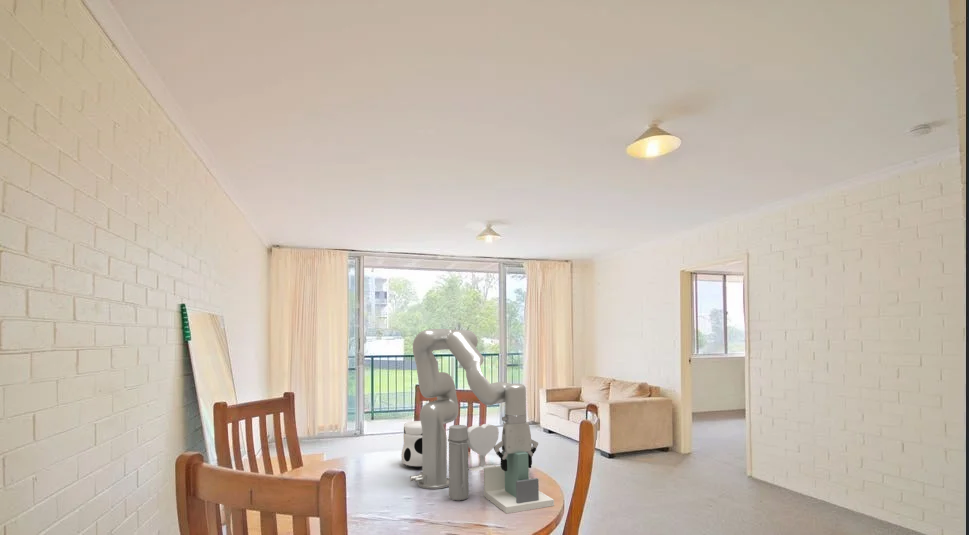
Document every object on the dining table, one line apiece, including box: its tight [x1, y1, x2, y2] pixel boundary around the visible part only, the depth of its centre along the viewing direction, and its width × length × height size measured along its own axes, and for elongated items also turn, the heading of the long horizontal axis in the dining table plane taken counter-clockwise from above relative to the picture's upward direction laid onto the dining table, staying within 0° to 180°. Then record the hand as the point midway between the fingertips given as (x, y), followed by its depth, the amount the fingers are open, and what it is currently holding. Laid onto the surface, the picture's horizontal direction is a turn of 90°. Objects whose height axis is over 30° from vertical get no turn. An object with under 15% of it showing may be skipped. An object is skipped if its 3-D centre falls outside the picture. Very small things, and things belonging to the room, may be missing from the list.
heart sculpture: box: [467, 423, 500, 472], centre depth 230 cm, size 16×5×18 cm, turn 125°
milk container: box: [400, 420, 422, 469], centre depth 234 cm, size 17×17×18 cm
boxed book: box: [505, 452, 530, 498], centre depth 188 cm, size 4×11×15 cm, turn 23°
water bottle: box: [447, 424, 470, 502], centre depth 190 cm, size 9×8×25 cm
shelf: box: [483, 465, 555, 514], centre depth 186 cm, size 18×19×10 cm
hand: (516, 468), depth 188 cm, fingers open, 9 cm apart
